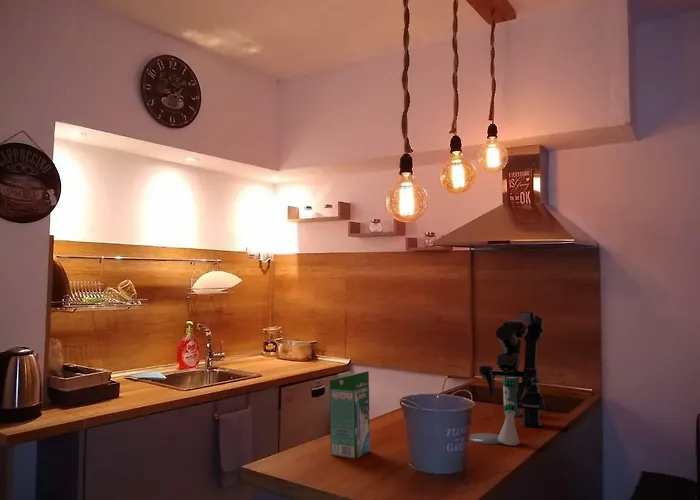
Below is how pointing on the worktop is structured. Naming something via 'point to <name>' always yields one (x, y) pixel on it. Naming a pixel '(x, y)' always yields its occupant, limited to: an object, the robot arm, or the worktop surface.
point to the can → (510, 394)
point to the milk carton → (350, 415)
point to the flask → (509, 430)
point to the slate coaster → (484, 438)
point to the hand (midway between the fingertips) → (505, 398)
